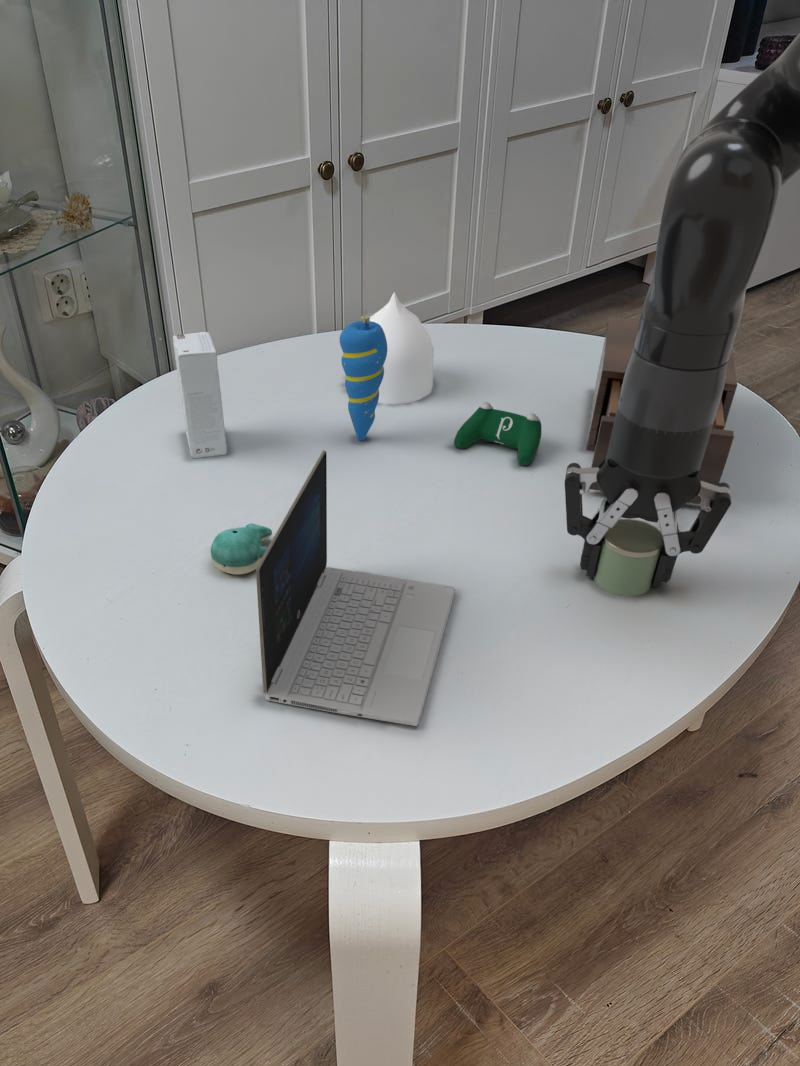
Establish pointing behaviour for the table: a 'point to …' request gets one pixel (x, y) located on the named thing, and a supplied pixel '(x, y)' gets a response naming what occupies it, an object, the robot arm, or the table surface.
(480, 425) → the gaming controller
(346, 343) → the ornament
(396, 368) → the teardrop
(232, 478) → the table surface
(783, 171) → the robot arm
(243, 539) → the whale figurine
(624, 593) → the tin
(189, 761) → the table surface
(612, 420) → the drawer
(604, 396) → the cabinet
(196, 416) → the cosmetic box
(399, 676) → the laptop
